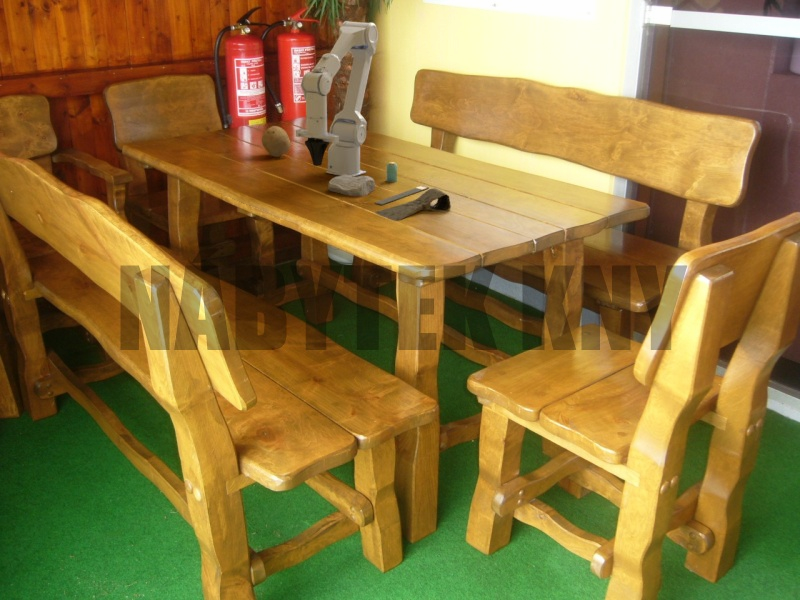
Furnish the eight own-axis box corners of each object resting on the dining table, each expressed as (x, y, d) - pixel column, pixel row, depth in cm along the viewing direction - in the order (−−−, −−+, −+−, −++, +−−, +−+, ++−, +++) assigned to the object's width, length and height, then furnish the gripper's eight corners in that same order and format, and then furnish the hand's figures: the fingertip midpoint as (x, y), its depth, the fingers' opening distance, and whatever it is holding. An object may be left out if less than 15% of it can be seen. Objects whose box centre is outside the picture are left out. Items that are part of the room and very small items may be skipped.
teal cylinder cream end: (384, 181, 242) (384, 162, 240) (390, 179, 245) (390, 161, 242) (392, 182, 241) (393, 164, 239) (398, 180, 243) (399, 162, 241)
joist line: (374, 203, 220) (374, 202, 220) (421, 187, 237) (421, 185, 237) (382, 205, 219) (382, 203, 219) (428, 188, 236) (428, 187, 235)
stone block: (362, 204, 227) (377, 189, 234) (360, 188, 224) (375, 173, 231) (324, 200, 231) (341, 185, 239) (322, 184, 229) (338, 169, 236)
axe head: (388, 216, 204) (368, 206, 212) (390, 235, 207) (371, 224, 215) (456, 193, 213) (435, 184, 221) (458, 212, 215) (437, 202, 223)
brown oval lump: (260, 154, 271) (259, 123, 267) (287, 153, 273) (286, 122, 269) (264, 160, 263) (263, 129, 259) (292, 159, 265) (291, 128, 261)
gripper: (287, 115, 229) (289, 163, 235) (326, 122, 222) (327, 171, 227) (304, 112, 235) (305, 159, 240) (343, 118, 227) (344, 167, 232)
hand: (317, 165), depth 234 cm, fingers closed
